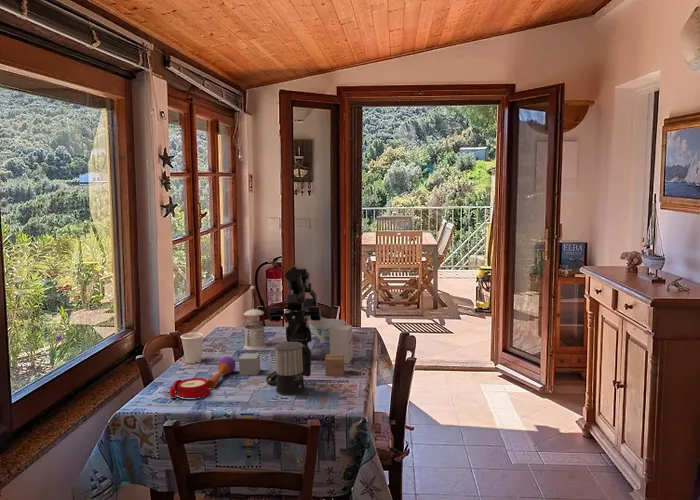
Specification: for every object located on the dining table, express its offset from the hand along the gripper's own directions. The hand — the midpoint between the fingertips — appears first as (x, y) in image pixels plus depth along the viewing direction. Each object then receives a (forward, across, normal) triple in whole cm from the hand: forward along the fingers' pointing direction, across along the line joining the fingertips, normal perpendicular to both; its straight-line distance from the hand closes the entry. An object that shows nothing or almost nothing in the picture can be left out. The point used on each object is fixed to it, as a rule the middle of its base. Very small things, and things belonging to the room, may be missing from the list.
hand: (292, 333), depth 217 cm
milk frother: (+23, 0, -5) cm, 23 cm away
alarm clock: (+28, -30, -9) cm, 42 cm away
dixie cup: (+2, -40, +16) cm, 43 cm away
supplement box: (+3, +16, +16) cm, 23 cm away
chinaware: (-17, +9, +35) cm, 40 cm away
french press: (-12, -21, +30) cm, 38 cm away
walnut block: (+13, +15, +5) cm, 21 cm away
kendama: (+17, -24, +1) cm, 29 cm away
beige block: (+12, -15, +6) cm, 20 cm away
